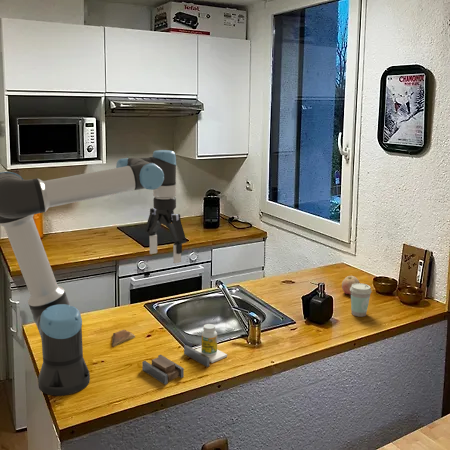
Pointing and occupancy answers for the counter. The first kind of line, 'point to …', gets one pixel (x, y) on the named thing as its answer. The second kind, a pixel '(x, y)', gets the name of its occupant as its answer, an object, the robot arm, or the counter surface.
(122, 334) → the shard
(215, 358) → the pad
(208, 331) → the supplement bottle
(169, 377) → the offcut lower
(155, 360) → the offcut upper
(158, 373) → the grey cradle
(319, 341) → the counter surface
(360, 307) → the coffee cup
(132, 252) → the counter surface
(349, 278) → the fruit
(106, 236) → the counter surface
